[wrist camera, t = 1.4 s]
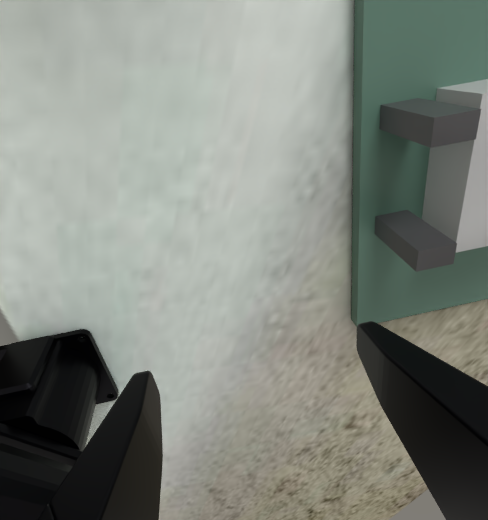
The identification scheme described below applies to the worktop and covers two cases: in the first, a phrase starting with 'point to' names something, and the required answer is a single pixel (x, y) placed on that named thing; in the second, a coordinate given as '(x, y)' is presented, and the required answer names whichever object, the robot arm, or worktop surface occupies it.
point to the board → (419, 157)
